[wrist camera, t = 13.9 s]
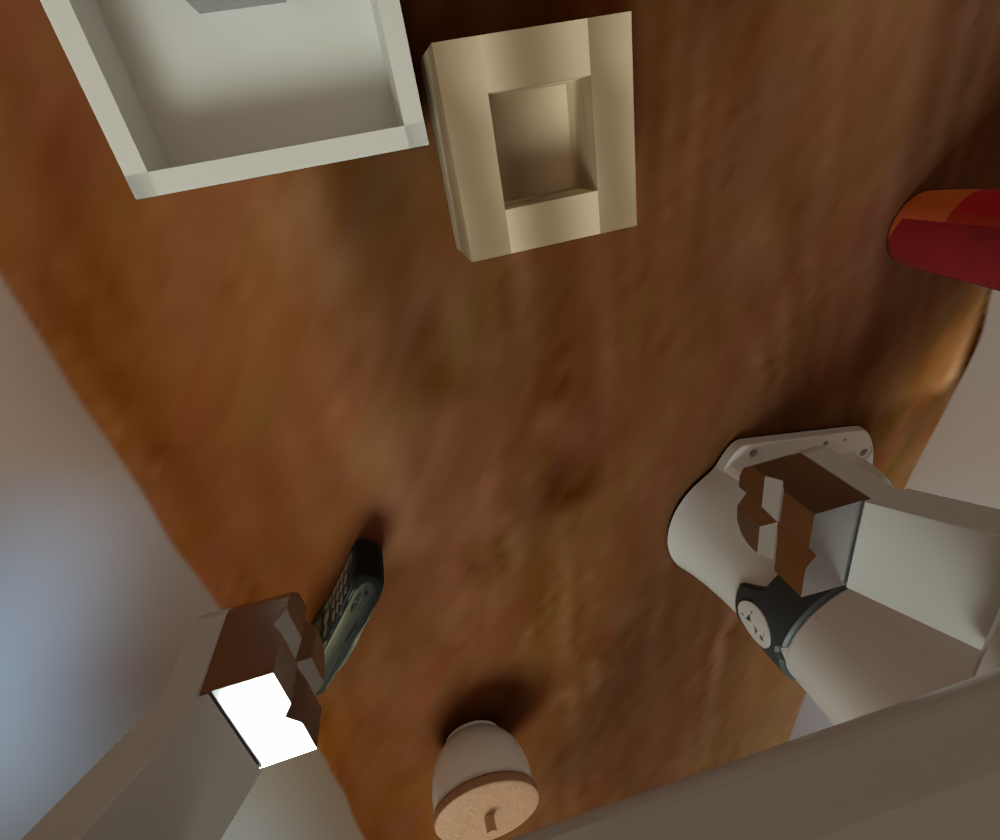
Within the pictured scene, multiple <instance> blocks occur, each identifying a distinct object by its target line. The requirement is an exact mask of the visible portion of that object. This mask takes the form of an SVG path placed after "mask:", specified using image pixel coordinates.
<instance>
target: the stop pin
mask: <svg viewBox="0 0 1000 840" xmlns="http://www.w3.org/2000/svg"><path fill="white" fill-rule="evenodd" d="M185 1H186V2H188V3H189V4H190V5H191V6H192V7H193V8H194V9H195V10H196V11H197V12H198V13H200V14H203V13H211V12H218V11H225V10H233V9H240V8H247V7H255V6H262V5H269V4H277V3H284V2H286V0H185Z"/></svg>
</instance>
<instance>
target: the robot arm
mask: <svg viewBox="0 0 1000 840" xmlns="http://www.w3.org/2000/svg"><path fill="white" fill-rule="evenodd" d="M668 548H669V552H670V555H671V557H672V559H673V560H674V561H675V563H676V564H677V565H678V566H680V567H681V568H683V569H684V570H686V571H688V572H689V573H691V574H692V575H693V576H695V577H696V578H698V579H699V580H700V581H701V582H703V583H704V584H705V585H706V586H708V587H709V588H710V589H711V590H712V591H713V592H715V593H716V594H717V595H718V596H719V597H720V598H721V599H722V600H723V601H724V602H725V603H726V604H727V605H728V606H729V607H730V608H731V609H732V610H733V611H734V612H735V613H736V614H737V616H738V618H739V619H740V621H741V622H742V624H743V625H744V627H745V628H746V629H747V631H748V632H749V633H750V635H751V636H752V637H753V638H754V640H755V641H756V642H757V643H758V644H759V646H760V647H761V648H762V649H763V650H764V652H765V653H766V654H767V655H768V656H769V657H770V659H771V660H772V661H773V662H774V663H775V664H776V665H777V666H778V668H779V669H780V670H781V671H782V672H783V673H784V674H785V675H786V676H787V677H788V678H790V679H793V680H796V681H797V682H798V683H799V684H800V685H801V687H802V688H803V689H804V690H805V691H806V693H807V694H808V695H809V696H810V697H811V698H812V700H813V701H814V702H815V703H816V704H817V706H818V707H819V708H820V709H821V710H822V711H823V713H824V714H825V715H826V716H827V717H828V719H829V720H830V721H831V722H832V723H833V725H834V726H832V727H829V728H826V729H823V730H820V731H817V732H815V733H811V734H809V735H806V736H803V737H800V738H797V739H794V740H792V741H789V742H786V743H783V744H780V745H777V746H774V747H771V748H768V749H766V750H763V751H760V752H757V753H754V754H751V755H748V756H746V757H743V758H740V759H737V760H734V761H731V762H728V763H725V764H723V765H720V766H717V767H714V768H711V769H708V770H705V771H702V772H700V773H697V774H694V775H691V776H688V777H685V778H682V779H679V780H677V781H674V782H671V783H668V784H665V785H662V786H659V787H657V788H654V789H651V790H648V791H645V792H642V793H639V794H636V795H634V796H631V797H628V798H625V799H622V800H619V801H616V802H613V803H611V804H608V805H605V806H602V807H599V808H596V809H593V810H591V811H588V812H585V813H582V814H579V815H576V816H573V817H571V818H568V819H565V820H562V821H559V822H556V823H553V824H551V825H548V826H545V827H542V828H539V829H536V830H533V831H531V832H528V833H525V834H522V835H519V836H516V837H513V838H511V839H508V840H1000V510H999V509H995V508H990V507H986V506H981V505H977V504H973V503H969V502H964V501H960V500H955V499H951V498H946V497H942V496H938V495H934V494H929V493H925V492H920V491H916V490H912V489H905V490H901V491H899V490H898V489H896V488H894V487H893V486H892V484H891V482H890V481H889V480H888V478H887V477H886V476H885V475H884V474H883V473H882V472H881V471H880V470H878V469H877V468H876V467H875V466H873V445H872V441H871V438H870V436H869V434H868V432H867V431H866V430H864V429H863V428H861V427H860V426H848V427H839V428H831V429H822V430H813V431H805V432H796V433H787V434H778V435H770V436H761V437H752V438H744V439H738V440H736V441H734V442H733V443H732V444H730V446H729V447H728V448H727V449H726V450H725V452H724V453H723V455H722V456H721V458H720V459H719V461H718V463H717V464H716V466H715V467H714V468H713V469H712V471H710V472H709V473H708V474H707V475H706V476H705V477H704V478H703V479H702V480H701V481H699V482H698V483H697V484H696V485H695V486H694V487H693V488H692V489H691V490H690V491H689V493H688V494H687V495H686V496H685V497H684V499H683V500H682V502H681V503H680V505H679V506H678V508H677V510H676V512H675V513H674V516H673V518H672V521H671V523H670V527H669V531H668ZM306 608H307V607H306V605H305V604H304V602H303V600H302V598H301V596H300V594H299V593H296V592H291V593H287V594H283V595H279V596H275V597H271V598H267V599H263V600H259V601H255V602H251V603H247V604H243V605H239V606H235V607H233V608H230V609H225V610H221V611H217V612H214V613H210V614H206V615H202V616H201V617H200V618H199V619H197V620H196V621H195V622H194V624H193V626H192V629H191V631H190V634H189V636H188V638H187V641H186V644H185V646H184V648H183V650H182V653H181V655H180V658H179V660H178V663H177V665H176V667H175V670H174V672H173V674H172V677H171V679H170V682H169V684H168V687H167V689H166V691H165V694H164V696H163V699H162V701H161V703H160V706H159V708H158V709H155V710H151V711H148V712H147V713H146V714H145V715H144V716H143V717H142V718H141V719H140V720H139V721H138V722H137V723H136V724H135V725H134V726H133V727H132V728H131V729H130V730H129V731H128V732H127V733H126V734H125V735H124V736H123V737H122V738H121V739H120V740H119V741H118V742H117V743H116V744H115V745H114V746H113V747H112V748H111V749H110V750H109V751H108V752H107V753H106V754H105V755H104V756H103V757H102V758H101V759H100V760H99V761H98V762H97V763H96V764H95V765H94V766H93V768H92V769H90V770H89V771H88V772H87V773H86V774H85V775H84V777H82V779H80V781H78V783H76V785H75V786H74V787H73V788H72V789H71V790H70V791H69V792H68V793H67V794H66V795H65V796H64V797H63V798H62V799H61V800H60V801H59V802H58V803H57V804H56V805H55V806H54V807H53V808H52V809H51V810H50V811H49V812H48V813H47V814H46V815H45V816H44V817H43V818H42V819H41V820H40V821H39V822H38V823H37V824H36V825H35V826H34V827H33V828H32V829H31V830H30V831H29V832H28V833H27V834H26V835H25V836H24V837H23V838H22V839H21V840H221V838H222V836H223V835H224V833H225V831H226V830H227V828H228V826H229V824H230V823H231V821H232V820H233V818H234V816H235V814H236V813H237V811H238V810H239V808H240V806H241V805H242V803H243V801H244V800H245V798H246V796H247V795H248V793H249V791H250V789H251V788H252V786H253V784H254V783H255V781H256V780H257V778H258V776H259V775H260V773H261V770H260V768H263V767H266V766H269V765H271V764H274V763H277V762H280V761H283V760H286V759H289V758H292V757H295V756H297V755H300V754H304V753H306V752H309V751H312V750H315V749H317V743H318V734H319V725H320V716H321V707H320V705H319V703H318V701H317V699H316V697H315V695H316V694H317V692H318V691H319V689H320V688H321V687H322V685H323V684H324V678H325V657H324V648H323V644H322V641H321V637H320V635H319V632H318V630H317V628H316V626H315V625H313V624H311V623H308V622H306V621H305V615H306Z"/></svg>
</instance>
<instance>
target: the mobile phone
mask: <svg viewBox="0 0 1000 840" xmlns="http://www.w3.org/2000/svg"><path fill="white" fill-rule="evenodd" d="M383 585H384V567H383V555H382V551H381V549H380V548H379V546H378V545H376V544H375V543H372V542H369V541H365V540H359V541H357V542H356V543H355V544H354V546H353V548H352V550H351V553H350V555H349V558H348V560H347V562H346V564H345V566H344V568H343V570H342V572H341V574H340V577H339V579H338V581H337V583H336V585H335V587H334V589H333V591H332V593H331V595H330V597H329V598H328V600H327V602H326V603H325V605H324V606H323V608H322V609H321V611H320V612H319V614H318V615H317V616H316V618H315V620H314V622H313V625H315V626H316V628H317V630H318V632H319V635H320V637H321V641H322V644H323V648H324V657H325V678H324V684H323V685H322V687H321V688H320V689H319V691H318V692H317V694H316V695H318V694H321V693H323V692H324V691H325V690H326V689H327V687H328V686H329V684H330V682H331V681H332V679H333V677H334V676H335V675H336V673H337V672H338V671H339V670H340V669H341V668H342V667H343V666H344V664H345V663H346V662H347V660H348V658H349V656H350V655H351V653H352V651H353V649H354V647H355V646H356V644H357V642H358V640H359V637H360V635H361V632H362V630H363V628H364V627H365V625H366V624H367V622H368V620H369V618H370V616H371V614H372V612H373V610H374V608H375V606H376V604H377V602H378V600H379V598H380V595H381V593H382V590H383Z"/></svg>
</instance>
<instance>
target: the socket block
mask: <svg viewBox="0 0 1000 840" xmlns="http://www.w3.org/2000/svg"><path fill="white" fill-rule="evenodd" d="M420 66H421V71H422V76H423V81H424V86H425V91H426V96H427V101H428V106H429V111H430V116H431V121H432V126H433V131H434V136H435V141H436V146H437V152H438V157H439V162H440V167H441V172H442V177H443V182H444V187H445V192H446V197H447V202H448V207H449V212H450V217H451V222H452V227H453V232H454V237H455V243H456V248H457V249H458V250H459V251H460V252H461V253H463V254H464V255H465V256H466V257H467V258H468V259H469V260H470V261H471V262H475V261H480V260H484V259H489V258H493V257H498V256H502V255H506V254H511V253H515V252H520V251H524V250H529V249H533V248H538V247H542V246H547V245H551V244H556V243H560V242H565V241H569V240H573V239H578V238H582V237H587V236H591V235H596V234H600V233H605V232H609V231H614V230H618V229H623V228H627V227H632V226H636V225H637V216H636V177H635V138H634V99H633V59H632V20H631V11H628V12H622V13H616V14H610V15H603V16H597V17H591V18H584V19H578V20H572V21H566V22H559V23H553V24H547V25H540V26H534V27H528V28H522V29H515V30H509V31H503V32H496V33H490V34H484V35H478V36H471V37H465V38H459V39H452V40H446V41H440V42H434V43H431V44H430V46H429V47H428V49H427V50H426V52H425V53H424V55H423V56H422V58H421V59H420Z"/></svg>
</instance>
